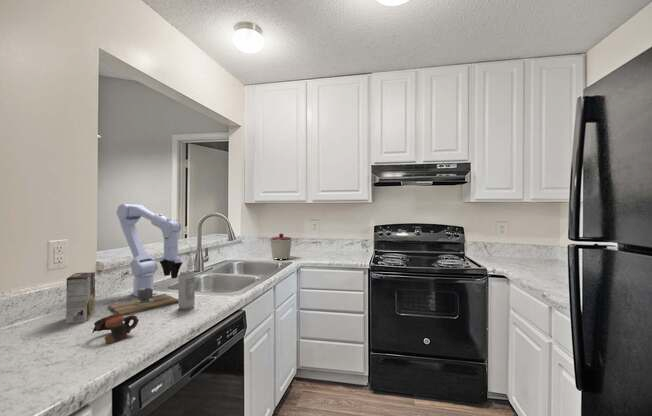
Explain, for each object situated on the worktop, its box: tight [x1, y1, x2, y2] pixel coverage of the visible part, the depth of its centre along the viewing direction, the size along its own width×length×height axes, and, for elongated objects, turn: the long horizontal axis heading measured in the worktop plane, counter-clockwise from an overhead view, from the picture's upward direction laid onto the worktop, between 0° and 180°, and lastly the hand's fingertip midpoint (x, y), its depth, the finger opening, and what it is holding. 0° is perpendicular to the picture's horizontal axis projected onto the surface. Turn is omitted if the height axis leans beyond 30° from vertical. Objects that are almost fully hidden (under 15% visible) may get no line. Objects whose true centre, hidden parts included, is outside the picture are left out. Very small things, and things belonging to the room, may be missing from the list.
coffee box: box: [65, 271, 96, 325], centre depth 111 cm, size 9×6×16 cm
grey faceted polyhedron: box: [136, 288, 154, 300], centre depth 127 cm, size 5×6×4 cm
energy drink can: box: [177, 269, 196, 310], centre depth 124 cm, size 6×6×15 cm
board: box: [107, 293, 178, 317], centre depth 127 cm, size 15×22×2 cm
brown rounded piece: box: [91, 313, 140, 345], centre depth 96 cm, size 12×10×8 cm
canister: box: [269, 233, 293, 259], centre depth 245 cm, size 18×18×21 cm
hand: (170, 276), depth 138 cm, fingers open, 7 cm apart
